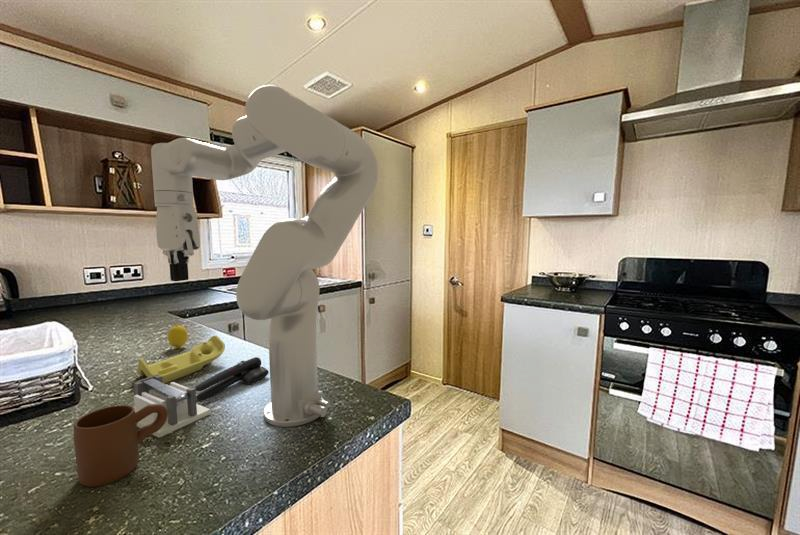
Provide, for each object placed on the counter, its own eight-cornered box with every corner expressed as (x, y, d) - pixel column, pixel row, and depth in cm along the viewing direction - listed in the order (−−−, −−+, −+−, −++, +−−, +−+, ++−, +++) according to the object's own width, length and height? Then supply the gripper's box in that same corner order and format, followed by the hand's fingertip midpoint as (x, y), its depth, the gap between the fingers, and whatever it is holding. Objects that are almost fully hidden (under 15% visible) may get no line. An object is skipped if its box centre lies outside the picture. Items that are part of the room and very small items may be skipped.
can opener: (255, 372, 96) (254, 352, 96) (271, 378, 92) (270, 357, 92) (187, 397, 82) (186, 374, 81) (203, 405, 78) (202, 381, 77)
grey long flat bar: (189, 398, 70) (189, 394, 70) (176, 404, 68) (176, 399, 68) (154, 380, 77) (154, 376, 77) (141, 385, 75) (141, 381, 75)
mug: (166, 440, 64) (162, 391, 63) (175, 460, 59) (171, 406, 58) (77, 471, 56) (72, 415, 55) (78, 497, 51) (72, 435, 50)
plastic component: (155, 379, 86) (137, 355, 90) (153, 400, 89) (136, 376, 93) (231, 351, 102) (213, 331, 107) (228, 369, 105) (210, 350, 109)
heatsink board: (210, 413, 74) (208, 384, 73) (158, 437, 65) (156, 404, 64) (171, 397, 81) (169, 370, 81) (120, 417, 73) (118, 387, 72)
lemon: (171, 346, 118) (170, 323, 117) (190, 344, 120) (188, 322, 119) (166, 351, 113) (164, 327, 112) (185, 350, 114) (184, 326, 113)
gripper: (209, 200, 79) (214, 280, 81) (173, 203, 87) (178, 276, 88) (175, 197, 73) (180, 284, 75) (139, 201, 80) (145, 280, 82)
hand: (179, 280), depth 82 cm, fingers closed
